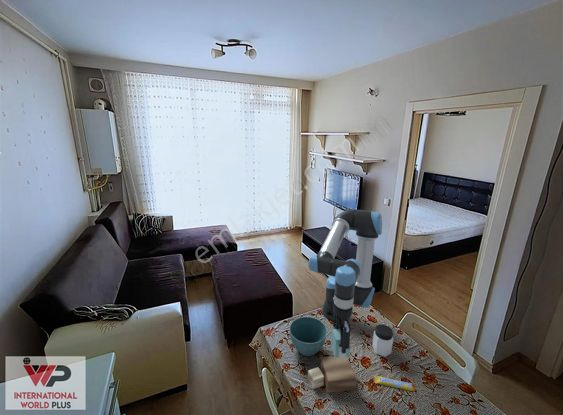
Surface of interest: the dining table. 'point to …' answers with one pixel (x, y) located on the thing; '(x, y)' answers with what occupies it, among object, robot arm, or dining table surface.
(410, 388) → the candy bar
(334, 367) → the walnut block
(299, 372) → the dining table surface
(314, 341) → the plant pot
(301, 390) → the dining table surface
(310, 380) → the cream cube
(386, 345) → the jar
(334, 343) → the teal block
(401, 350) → the dining table surface
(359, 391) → the dining table surface
